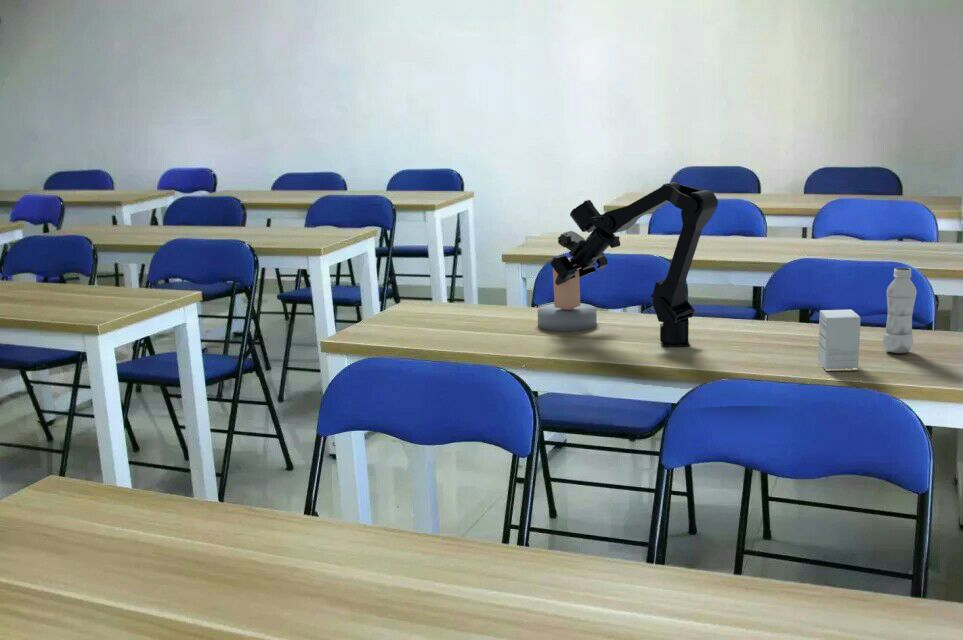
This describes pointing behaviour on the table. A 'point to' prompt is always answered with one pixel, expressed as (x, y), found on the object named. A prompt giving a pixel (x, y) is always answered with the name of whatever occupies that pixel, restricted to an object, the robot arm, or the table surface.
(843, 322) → the supplement box
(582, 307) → the plinth
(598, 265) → the robot arm
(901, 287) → the plastic bottle
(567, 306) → the terracotta block
